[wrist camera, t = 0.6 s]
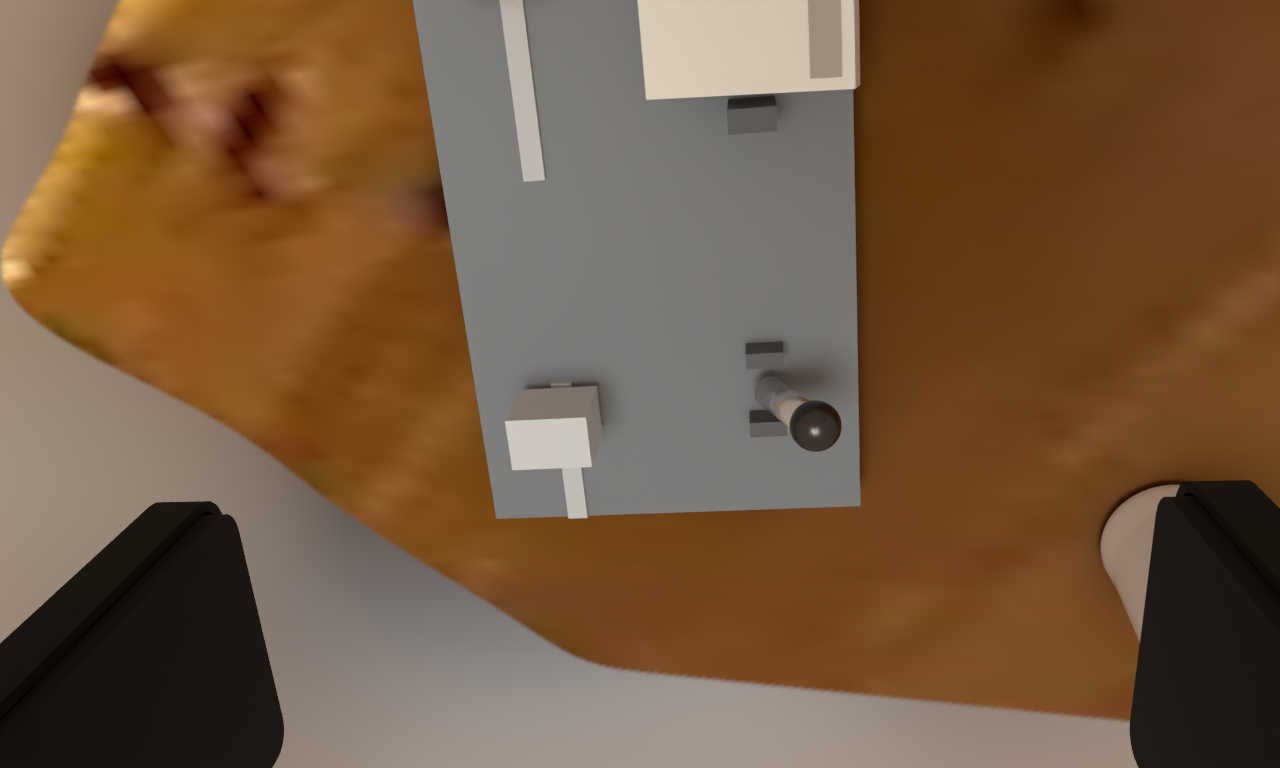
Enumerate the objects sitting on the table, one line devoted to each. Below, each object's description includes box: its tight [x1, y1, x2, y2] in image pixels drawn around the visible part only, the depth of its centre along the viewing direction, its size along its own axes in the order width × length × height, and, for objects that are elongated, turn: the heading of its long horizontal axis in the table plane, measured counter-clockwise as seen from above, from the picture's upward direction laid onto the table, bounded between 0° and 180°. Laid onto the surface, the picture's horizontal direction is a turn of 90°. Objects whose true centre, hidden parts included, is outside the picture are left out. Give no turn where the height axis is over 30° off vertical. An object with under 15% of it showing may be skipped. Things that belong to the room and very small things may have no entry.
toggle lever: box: [754, 376, 842, 452], centre depth 38 cm, size 2×2×5 cm
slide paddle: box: [505, 386, 602, 470], centre depth 40 cm, size 2×3×3 cm, turn 96°
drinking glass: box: [1100, 485, 1180, 644], centre depth 37 cm, size 7×7×15 cm
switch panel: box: [413, 0, 860, 519], centre depth 38 cm, size 25×15×5 cm, turn 5°
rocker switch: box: [637, 0, 860, 100], centre depth 34 cm, size 4×7×1 cm, turn 96°
